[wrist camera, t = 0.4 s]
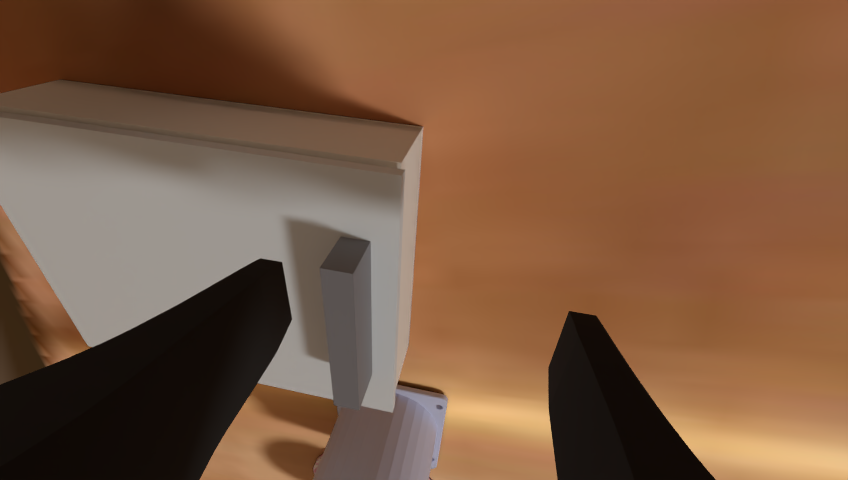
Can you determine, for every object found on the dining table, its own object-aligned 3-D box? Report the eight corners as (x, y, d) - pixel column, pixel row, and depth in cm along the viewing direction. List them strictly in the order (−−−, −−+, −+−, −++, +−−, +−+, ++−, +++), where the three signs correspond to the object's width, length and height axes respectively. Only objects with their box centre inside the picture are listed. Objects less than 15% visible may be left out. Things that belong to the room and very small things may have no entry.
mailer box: (408, 344, 25) (392, 399, 22) (152, 293, 27) (103, 337, 24) (423, 126, 17) (401, 162, 14) (60, 79, 19) (-33, 101, 16)
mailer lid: (395, 404, 21) (382, 449, 19) (95, 339, 24) (55, 374, 22) (405, 169, 14) (385, 204, 12) (-45, 105, 16) (-127, 124, 14)
